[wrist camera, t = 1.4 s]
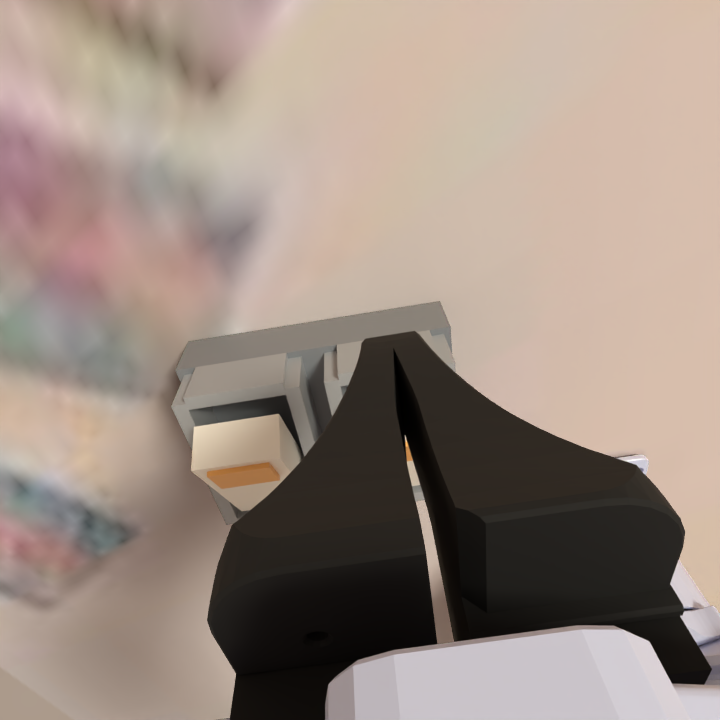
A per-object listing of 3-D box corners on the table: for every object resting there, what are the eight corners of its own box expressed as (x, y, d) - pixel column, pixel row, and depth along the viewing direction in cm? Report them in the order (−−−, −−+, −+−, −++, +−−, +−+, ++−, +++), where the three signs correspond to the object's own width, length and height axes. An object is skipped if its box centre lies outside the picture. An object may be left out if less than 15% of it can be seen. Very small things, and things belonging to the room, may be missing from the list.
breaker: (309, 464, 24) (312, 505, 23) (242, 474, 24) (241, 515, 23) (278, 413, 19) (280, 462, 18) (193, 426, 19) (190, 476, 18)
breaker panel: (448, 429, 27) (468, 493, 24) (236, 461, 28) (222, 529, 24) (439, 301, 23) (462, 354, 19) (188, 341, 23) (161, 401, 20)
